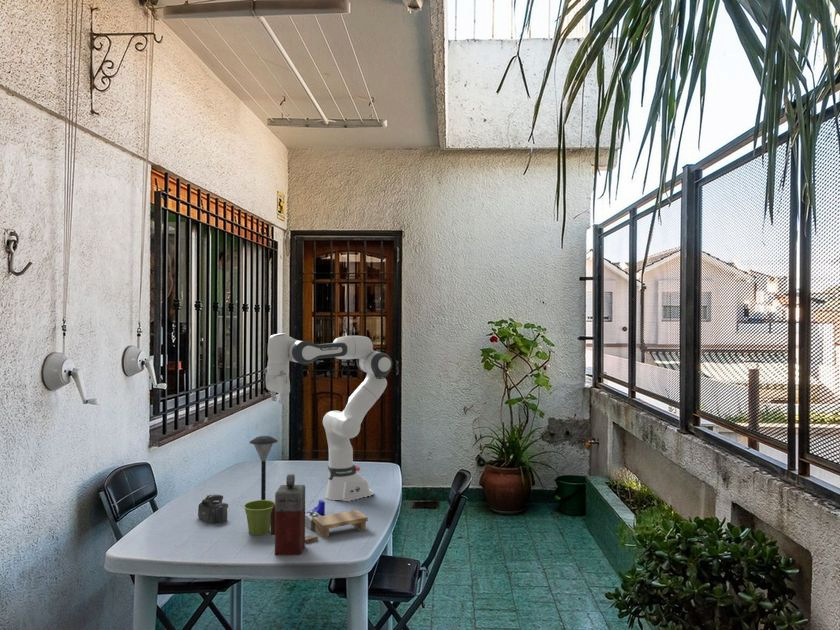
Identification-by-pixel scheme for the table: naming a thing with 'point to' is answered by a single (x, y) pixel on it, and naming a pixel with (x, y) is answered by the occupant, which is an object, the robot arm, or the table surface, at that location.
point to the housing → (310, 519)
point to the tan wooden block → (311, 538)
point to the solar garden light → (263, 457)
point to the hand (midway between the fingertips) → (277, 402)
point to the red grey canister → (289, 518)
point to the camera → (213, 509)
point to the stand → (339, 521)
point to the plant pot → (259, 516)
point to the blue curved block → (319, 508)
